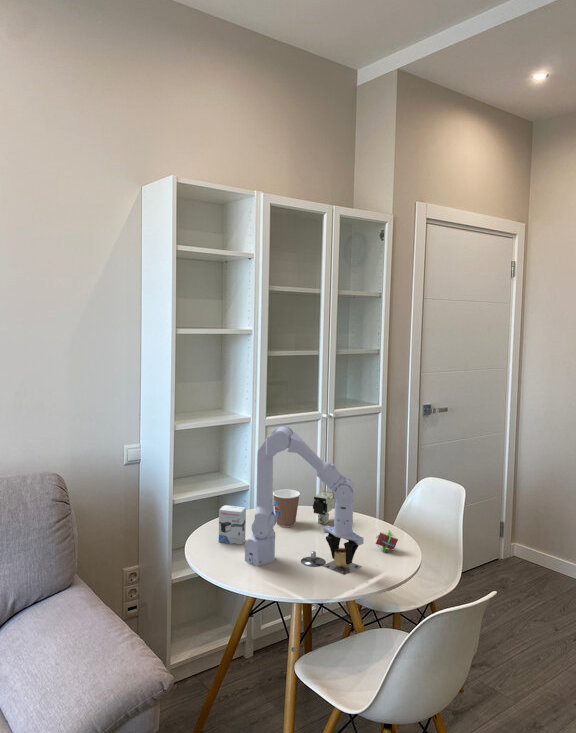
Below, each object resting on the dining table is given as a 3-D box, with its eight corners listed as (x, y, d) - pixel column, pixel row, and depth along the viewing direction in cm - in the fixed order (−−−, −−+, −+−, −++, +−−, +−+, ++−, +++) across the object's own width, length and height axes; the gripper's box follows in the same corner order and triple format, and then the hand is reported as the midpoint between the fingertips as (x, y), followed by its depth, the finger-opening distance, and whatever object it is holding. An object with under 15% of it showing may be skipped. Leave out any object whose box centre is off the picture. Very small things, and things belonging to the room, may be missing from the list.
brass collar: (343, 567, 186) (343, 555, 185) (330, 562, 189) (331, 550, 189) (353, 563, 189) (353, 551, 189) (340, 558, 193) (341, 546, 192)
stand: (314, 572, 187) (314, 559, 186) (295, 564, 192) (295, 552, 192) (330, 564, 193) (331, 552, 192) (312, 557, 198) (312, 545, 198)
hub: (344, 578, 183) (344, 565, 183) (321, 568, 189) (322, 556, 189) (362, 569, 190) (362, 557, 189) (339, 560, 196) (340, 548, 195)
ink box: (217, 542, 209) (218, 509, 208) (222, 537, 214) (223, 504, 213) (241, 545, 207) (242, 511, 206) (245, 539, 212) (246, 507, 211)
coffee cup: (271, 519, 233) (272, 489, 232) (298, 519, 234) (299, 489, 233) (272, 528, 223) (273, 497, 222) (300, 529, 224) (301, 497, 223)
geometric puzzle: (399, 540, 209) (386, 522, 208) (404, 548, 202) (391, 529, 201) (382, 552, 209) (369, 534, 208) (387, 560, 202) (373, 542, 201)
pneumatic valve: (311, 526, 227) (312, 495, 226) (323, 517, 237) (324, 487, 236) (325, 528, 224) (326, 497, 223) (336, 519, 235) (337, 489, 234)
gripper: (370, 521, 186) (368, 564, 187) (333, 509, 196) (332, 550, 197) (356, 526, 181) (354, 570, 182) (319, 514, 191) (318, 556, 192)
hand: (342, 560), depth 189 cm, fingers closed on brass collar, 5 cm apart
